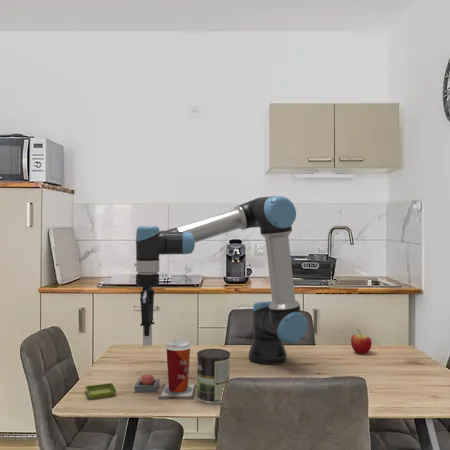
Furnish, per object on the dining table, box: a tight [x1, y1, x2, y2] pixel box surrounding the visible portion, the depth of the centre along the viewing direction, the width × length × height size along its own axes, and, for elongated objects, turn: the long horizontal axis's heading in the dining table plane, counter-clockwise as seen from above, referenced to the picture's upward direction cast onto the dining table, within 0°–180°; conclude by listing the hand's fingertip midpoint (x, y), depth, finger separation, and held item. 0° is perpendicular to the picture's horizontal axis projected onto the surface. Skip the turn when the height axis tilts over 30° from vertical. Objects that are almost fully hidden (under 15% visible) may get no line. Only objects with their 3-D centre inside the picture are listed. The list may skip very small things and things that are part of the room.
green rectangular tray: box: [84, 382, 117, 400], centre depth 153 cm, size 9×9×2 cm
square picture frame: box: [157, 383, 197, 400], centre depth 155 cm, size 11×12×1 cm
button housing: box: [134, 378, 161, 394], centre depth 158 cm, size 7×7×2 cm
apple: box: [350, 328, 372, 355], centre depth 201 cm, size 8×8×10 cm
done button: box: [140, 374, 154, 385], centre depth 158 cm, size 4×4×3 cm
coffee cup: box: [165, 339, 192, 392], centre depth 155 cm, size 8×8×15 cm
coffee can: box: [196, 348, 231, 405], centre depth 150 cm, size 10×10×14 cm
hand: (147, 344), depth 158 cm, fingers closed
